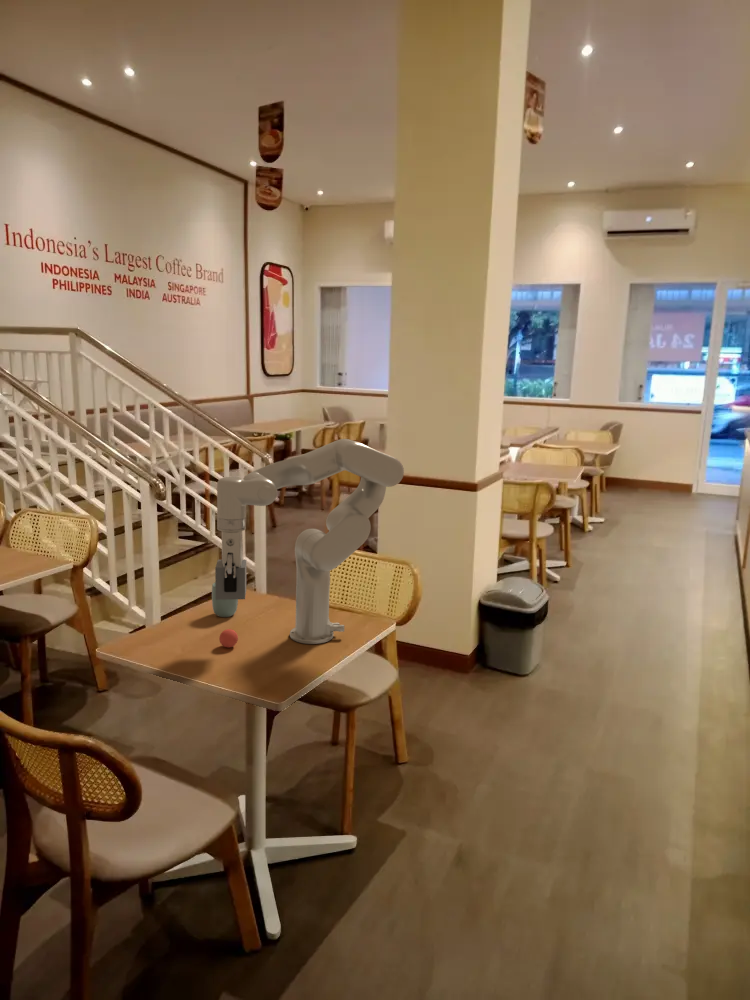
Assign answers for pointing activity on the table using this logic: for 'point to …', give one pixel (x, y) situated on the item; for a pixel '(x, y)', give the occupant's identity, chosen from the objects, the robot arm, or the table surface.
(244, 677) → the table surface
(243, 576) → the matte gray cube
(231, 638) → the ball
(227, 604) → the cup
